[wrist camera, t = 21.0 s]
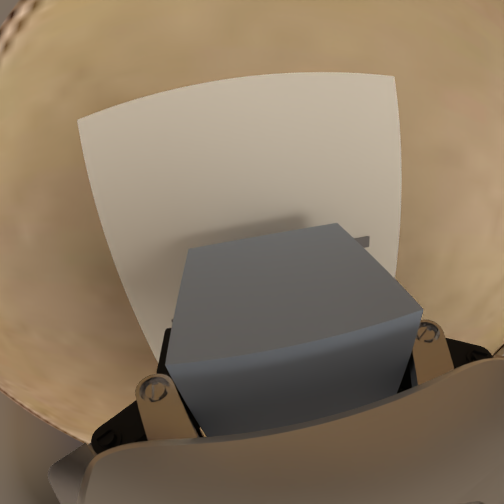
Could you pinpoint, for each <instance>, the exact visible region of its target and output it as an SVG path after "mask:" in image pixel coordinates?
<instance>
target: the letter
mask: <svg viewBox="0 0 504 504" xmlns="http://www.w3.org/2000/svg"><path fill="white" fill-rule="evenodd" d="M77 122H78V128H79V134H80V140H81V145H82V150H83V155H84V159H85V164H86V168H87V173H88V177H89V181H90V185H91V189H92V193H93V197H94V200H95V204H96V208H97V211H98V214H99V218H100V221H101V224H102V228H103V231H104V234H105V237H106V240H107V243H108V246H109V249H110V252H111V255H112V258H113V261H114V263H115V266H116V269H117V271H118V274H119V277H120V279H121V282H122V285H123V287H124V290H125V292H126V295H127V297H128V299H129V302H130V304H131V307H132V309H133V311H134V313H135V316H136V318H137V320H138V323H139V325H140V327H141V329H142V331H143V333H144V336H145V338H146V340H147V342H148V344H149V346H150V348H151V350H152V352H153V354H154V356H155V358H156V360H157V362H158V363H159V358H160V352H161V347H162V342H163V338H164V333H165V330H166V329H167V328H172V323H173V318H174V313H175V308H176V303H177V298H178V293H179V289H180V284H181V280H182V275H183V271H184V266H185V262H186V257H187V253H188V249H190V248H196V247H201V246H206V245H212V244H217V243H223V242H229V241H234V240H240V239H245V238H251V237H257V236H262V235H268V234H274V233H279V232H285V231H291V230H297V229H303V228H309V227H315V226H321V225H327V224H333V223H338V224H339V225H340V226H341V227H342V228H343V229H344V230H345V231H346V232H348V233H349V234H350V235H351V236H352V237H353V238H354V239H355V240H356V241H357V242H358V243H359V244H360V245H361V246H362V247H363V248H364V249H365V250H366V251H368V252H369V253H370V254H371V255H372V256H373V257H374V258H375V259H376V260H377V261H378V262H379V263H380V264H381V265H382V266H383V267H384V268H385V269H386V270H387V271H388V272H389V273H390V274H391V275H392V276H393V277H394V278H395V274H396V265H397V256H398V246H399V233H400V217H401V184H402V172H401V139H400V124H399V112H398V102H397V93H396V85H395V78H394V76H386V75H376V74H363V73H343V72H300V73H280V74H267V75H256V76H247V77H239V78H231V79H224V80H218V81H212V82H206V83H201V84H196V85H191V86H186V87H181V88H177V89H173V90H168V91H164V92H160V93H156V94H153V95H149V96H145V97H142V98H138V99H135V100H132V101H128V102H125V103H122V104H119V105H116V106H113V107H110V108H107V109H104V110H102V111H99V112H96V113H94V114H91V115H88V116H86V117H83V118H81V119H78V120H77Z"/></svg>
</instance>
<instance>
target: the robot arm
mask: <svg viewBox="0 0 504 504" xmlns="http://www.w3.org/2000/svg"><path fill="white" fill-rule="evenodd" d="M170 334H171V328H167V329H166V330H165V333H164V338H163V342H162V347H161V352H160V358H159V363H158V368H157V374H152V375H149V376H147V377H145V378H144V379H142V380H141V381H140V382H139V384H138V385H137V387H136V390H135V396H136V401H134V402H133V403H132V404H130V405H129V406H128V407H126V408H125V409H124V410H122V411H121V412H120V413H118V414H117V415H116V416H114V417H113V418H111V419H110V420H109V421H107V422H106V423H104V424H103V425H102V426H100V427H99V428H98V429H97V430H96V431H95V432H94V434H93V435H92V439H91V443H90V444H86V443H84V444H83V445H81V446H80V447H78V448H77V449H75V450H74V451H72V452H71V453H69V454H68V455H66V456H65V457H63V458H61V459H60V460H59V461H57V462H55V463H54V464H53V465H52V466H51V467H50V469H49V471H48V479H49V482H50V484H51V486H52V488H53V490H54V492H55V494H56V496H57V497H58V499H59V501H60V503H61V504H504V347H503V348H501V349H500V351H499V352H498V353H497V354H495V355H494V356H493V357H492V355H491V353H490V352H489V351H488V350H487V349H485V348H484V347H481V346H478V345H473V344H469V343H465V342H461V341H457V340H453V339H449V338H445V335H444V332H443V330H442V328H441V327H440V326H439V325H438V324H437V323H435V322H433V321H430V320H421V321H420V325H419V328H418V332H417V335H416V339H415V342H414V346H413V349H412V352H411V355H410V358H409V361H408V364H407V367H406V370H405V373H404V375H403V378H402V381H401V384H400V386H399V389H398V391H397V394H395V395H393V396H390V397H387V398H385V399H382V400H379V401H376V402H373V403H370V404H367V405H364V406H361V407H358V408H355V409H352V410H348V411H345V412H342V413H338V414H335V415H331V416H327V417H323V418H319V419H315V420H311V421H307V422H303V423H298V424H293V425H289V426H283V427H278V428H273V429H267V430H261V431H255V432H248V433H240V434H232V435H223V436H212V437H204V435H203V433H202V431H201V429H200V425H199V424H198V422H197V421H196V419H195V417H194V416H193V414H192V412H191V411H190V409H189V407H188V406H187V404H186V402H185V401H184V399H183V397H182V395H181V394H180V392H179V390H178V388H177V386H176V385H175V383H174V381H173V379H172V377H171V375H170V374H169V372H168V370H167V368H166V366H165V362H166V356H167V350H168V345H169V339H170Z"/></svg>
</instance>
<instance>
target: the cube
mask: <svg viewBox="0 0 504 504" xmlns="http://www.w3.org/2000/svg"><path fill="white" fill-rule="evenodd" d="M422 313H423V308H422V307H421V306H420V305H419V304H418V303H417V302H416V301H415V300H414V298H413V297H412V296H411V295H410V294H409V293H408V292H407V291H406V290H405V289H404V288H403V287H402V286H401V285H400V284H399V283H398V282H397V281H396V279H395V278H394V277H393V276H392V275H391V274H390V273H389V272H388V271H387V270H386V269H385V268H384V267H383V266H382V265H381V264H380V263H379V262H378V261H377V260H376V259H375V258H374V257H373V256H372V255H371V254H370V253H369V252H368V251H366V250H365V249H364V248H363V247H362V246H361V245H360V244H359V243H358V242H357V241H356V240H355V239H354V238H353V237H352V236H351V235H350V234H349V233H348V232H346V231H345V230H344V229H343V228H342V227H341V226H340V225H339V224H338V223H333V224H327V225H321V226H315V227H309V228H303V229H297V230H291V231H285V232H279V233H274V234H268V235H262V236H257V237H251V238H245V239H240V240H234V241H229V242H223V243H217V244H212V245H206V246H201V247H196V248H190V249H188V253H187V257H186V262H185V266H184V271H183V275H182V280H181V284H180V289H179V293H178V298H177V303H176V308H175V313H174V318H173V323H172V328H171V334H170V339H169V345H168V350H167V356H166V362H165V366H166V368H167V370H168V372H169V374H170V375H171V377H172V379H173V381H174V383H175V385H176V386H177V388H178V390H179V392H180V394H181V395H182V397H183V399H184V401H185V402H186V404H187V406H188V407H189V409H190V411H191V412H192V414H193V416H194V417H195V419H196V421H197V422H198V424H199V425H200V427H201V429H202V430H203V432H204V433H205V435H206V436H207V437H212V436H223V435H232V434H240V433H248V432H255V431H261V430H267V429H273V428H278V427H283V426H289V425H293V424H298V423H303V422H307V421H311V420H315V419H319V418H323V417H327V416H331V415H335V414H338V413H342V412H345V411H348V410H352V409H355V408H358V407H361V406H364V405H367V404H370V403H373V402H376V401H379V400H382V399H385V398H387V397H390V396H393V395H395V394H397V391H398V389H399V386H400V384H401V381H402V378H403V375H404V373H405V370H406V367H407V364H408V361H409V358H410V355H411V352H412V349H413V346H414V342H415V339H416V335H417V332H418V328H419V325H420V321H421V317H422Z"/></svg>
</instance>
